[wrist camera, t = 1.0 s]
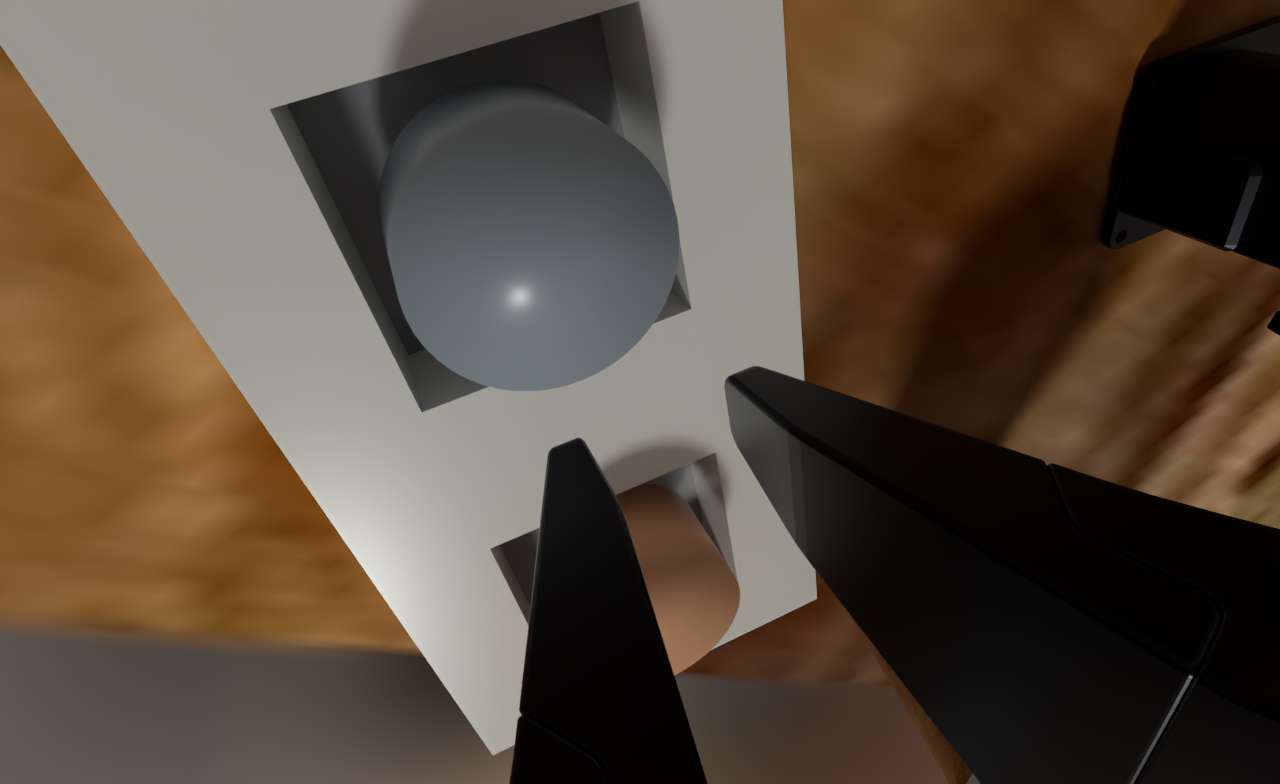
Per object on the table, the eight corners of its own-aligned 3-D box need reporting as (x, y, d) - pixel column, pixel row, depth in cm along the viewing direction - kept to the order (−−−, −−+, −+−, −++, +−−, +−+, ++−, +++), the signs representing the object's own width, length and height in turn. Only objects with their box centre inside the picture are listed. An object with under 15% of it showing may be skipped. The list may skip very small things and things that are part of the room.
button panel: (672, -181, 15) (770, -203, 11) (760, 522, 28) (816, 598, 25) (49, -28, 12) (-35, -7, 9) (470, 654, 26) (492, 755, 23)
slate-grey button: (593, 46, 13) (652, 75, 11) (642, 275, 16) (696, 335, 14) (331, 124, 13) (338, 174, 10) (434, 351, 16) (457, 429, 13)
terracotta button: (681, 458, 20) (729, 529, 18) (704, 566, 23) (748, 639, 21) (515, 529, 19) (543, 613, 17) (561, 631, 22) (591, 715, 20)
